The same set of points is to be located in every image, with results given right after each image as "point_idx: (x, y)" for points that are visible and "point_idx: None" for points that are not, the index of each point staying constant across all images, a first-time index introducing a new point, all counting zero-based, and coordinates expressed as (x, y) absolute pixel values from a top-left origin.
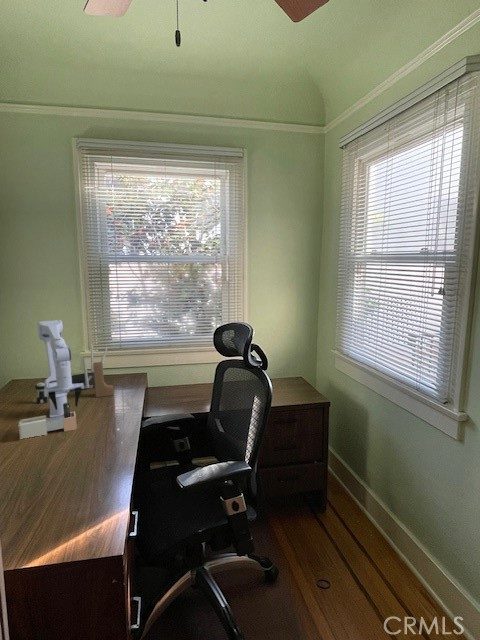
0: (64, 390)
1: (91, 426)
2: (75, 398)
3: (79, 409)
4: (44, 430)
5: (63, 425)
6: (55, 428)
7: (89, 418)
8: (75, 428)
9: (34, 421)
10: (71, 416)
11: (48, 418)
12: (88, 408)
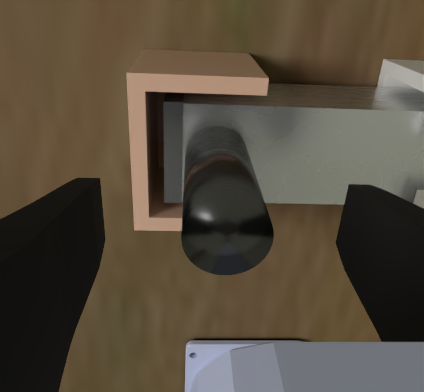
0: (409, 351)
1: (14, 39)
2: (56, 256)
3: (119, 383)
4: (421, 68)
5: None
6: (321, 88)
7: None
8: (154, 50)
9: None
10: (174, 132)
11: None
12: None
